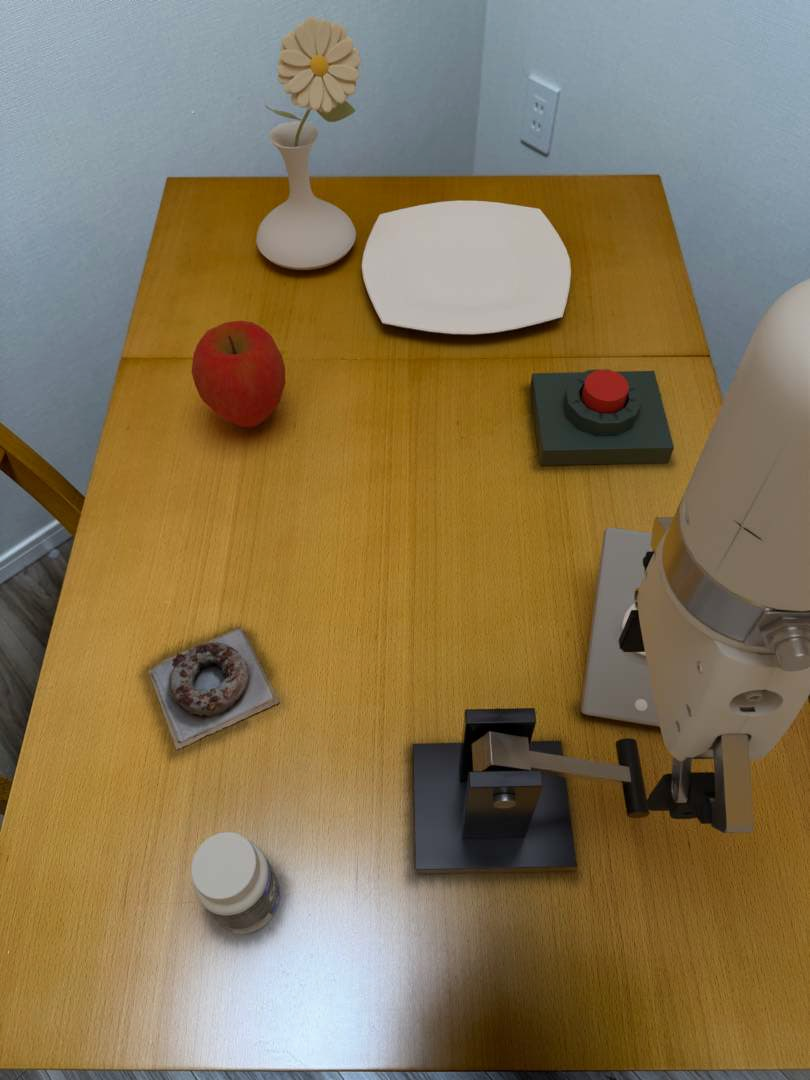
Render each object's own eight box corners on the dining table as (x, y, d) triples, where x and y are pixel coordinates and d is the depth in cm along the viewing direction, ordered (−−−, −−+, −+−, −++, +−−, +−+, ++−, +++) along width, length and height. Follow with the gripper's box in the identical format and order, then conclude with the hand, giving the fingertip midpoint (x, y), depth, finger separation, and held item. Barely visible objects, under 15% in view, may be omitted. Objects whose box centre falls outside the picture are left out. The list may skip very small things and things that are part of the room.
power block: (649, 386, 86) (658, 356, 82) (668, 463, 80) (679, 434, 77) (529, 389, 86) (534, 359, 82) (540, 465, 80) (545, 437, 77)
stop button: (621, 382, 81) (624, 369, 80) (628, 413, 79) (632, 400, 77) (579, 383, 81) (581, 369, 80) (584, 414, 79) (587, 401, 77)
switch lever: (623, 749, 60) (645, 737, 58) (636, 821, 57) (659, 811, 55) (469, 723, 55) (487, 709, 54) (474, 799, 53) (493, 787, 51)
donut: (244, 625, 71) (239, 613, 69) (278, 704, 67) (275, 692, 65) (146, 667, 69) (139, 655, 67) (176, 750, 65) (169, 740, 63)
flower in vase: (252, 279, 96) (206, 47, 76) (265, 218, 103) (226, -11, 82) (367, 281, 96) (353, 47, 75) (373, 219, 102) (362, -11, 82)
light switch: (582, 715, 64) (607, 524, 65) (575, 709, 70) (598, 534, 71) (699, 734, 63) (722, 540, 64) (681, 726, 69) (702, 548, 70)
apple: (231, 379, 87) (209, 293, 78) (308, 398, 85) (295, 313, 77) (192, 439, 83) (164, 355, 74) (272, 460, 81) (254, 377, 72)
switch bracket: (558, 746, 64) (583, 677, 55) (574, 871, 59) (604, 818, 49) (412, 749, 64) (411, 680, 55) (415, 874, 59) (414, 822, 50)
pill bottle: (292, 910, 58) (275, 880, 51) (228, 948, 57) (201, 922, 50) (263, 848, 60) (243, 811, 53) (201, 883, 59) (172, 849, 52)
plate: (362, 351, 89) (361, 336, 88) (361, 217, 102) (361, 203, 101) (583, 343, 89) (586, 329, 88) (553, 211, 103) (556, 196, 101)
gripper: (924, 756, 31) (761, 876, 45) (792, 403, 40) (692, 593, 54) (715, 759, 30) (617, 879, 44) (633, 405, 40) (574, 594, 54)
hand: (658, 721), depth 49 cm, fingers open, 9 cm apart
